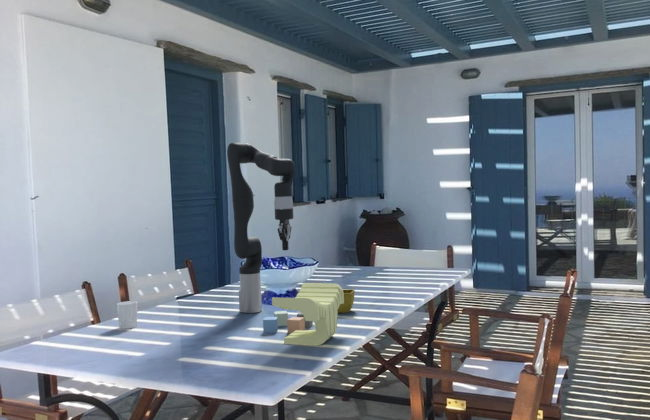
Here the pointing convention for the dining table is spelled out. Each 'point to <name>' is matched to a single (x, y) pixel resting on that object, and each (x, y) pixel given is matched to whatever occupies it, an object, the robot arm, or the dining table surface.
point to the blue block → (270, 325)
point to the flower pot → (347, 301)
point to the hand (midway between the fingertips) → (285, 250)
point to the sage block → (281, 317)
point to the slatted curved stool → (314, 311)
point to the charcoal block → (307, 323)
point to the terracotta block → (295, 324)
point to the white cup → (127, 314)
